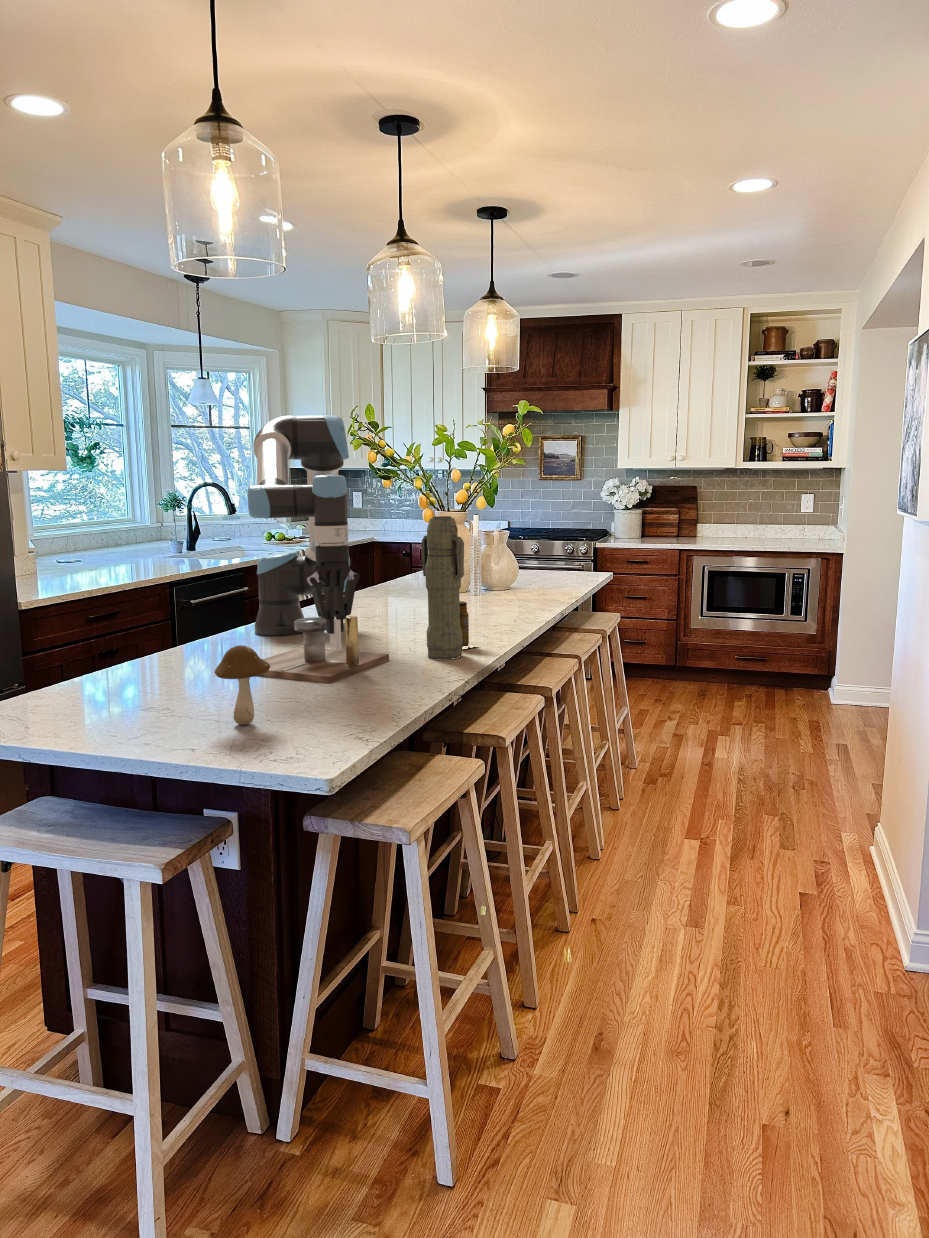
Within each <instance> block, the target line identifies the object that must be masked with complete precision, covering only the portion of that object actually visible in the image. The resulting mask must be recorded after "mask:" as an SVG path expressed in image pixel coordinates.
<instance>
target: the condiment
mask: <svg viewBox="0 0 929 1238" xmlns="http://www.w3.org/2000/svg"><path fill="white" fill-rule="evenodd" d="M469 616H470V615H469V612H468V603H467V602H466V601H462V600H460V626H461V629H462V644H463V646H468V645H470V637H469V634H470V633H469V631H470V630H469V629H470V628H469V626H470V625H469V624H470V623H469V621H470V620H469ZM463 646H462V647H463Z"/></svg>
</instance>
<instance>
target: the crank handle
mask: <svg viewBox="0 0 929 1238" xmlns="http://www.w3.org/2000/svg"><path fill="white" fill-rule="evenodd" d="M343 623H344V631H343V632H342V633H344V635H345V636H344V638H345V640H344V641H345V642H344V643H345V650H346V664H347V665H357V664H359V652H360V648H359V647H360V646H359V644H360V643H359V622H358V616H354V615H353V616H352V615H347V616H346V618H345V619H344V622H343ZM294 628H295V630H296V631H300V632H301V633H303V632H319V631H324V632H325V631H326V632H327V630H326V619H325V618H322V617H319V616H317V617H316V616H315V617H304V618H302V619H297V620H295V621H294Z"/></svg>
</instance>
